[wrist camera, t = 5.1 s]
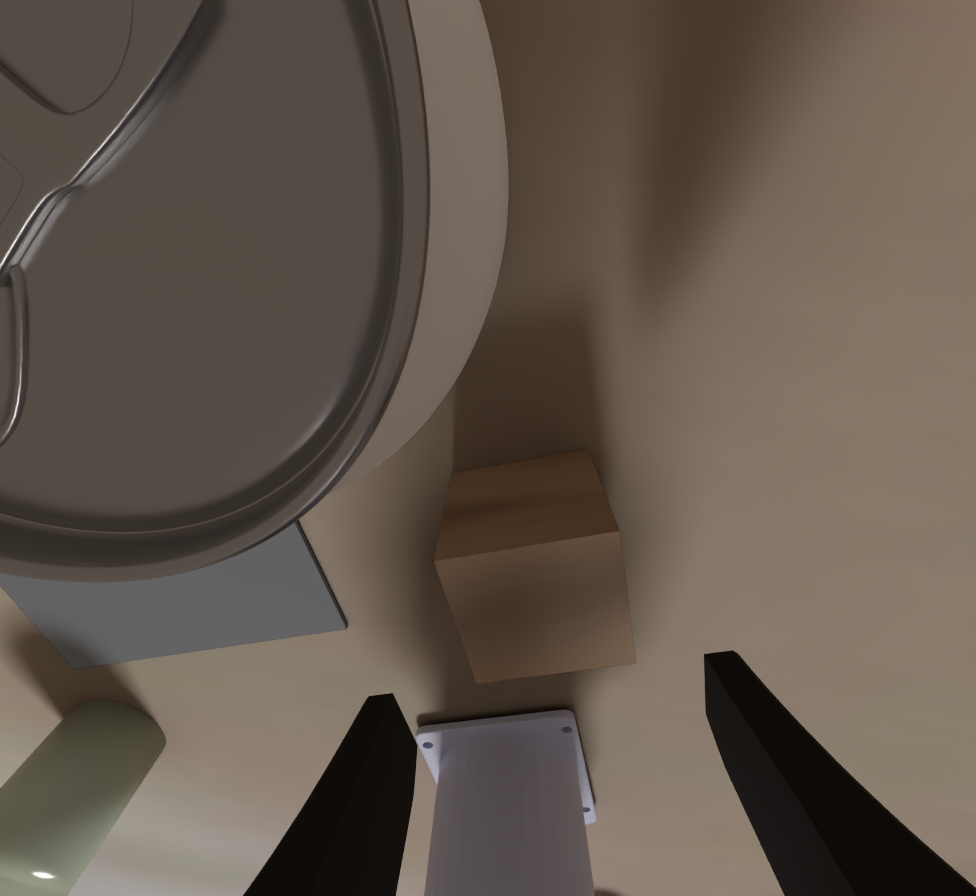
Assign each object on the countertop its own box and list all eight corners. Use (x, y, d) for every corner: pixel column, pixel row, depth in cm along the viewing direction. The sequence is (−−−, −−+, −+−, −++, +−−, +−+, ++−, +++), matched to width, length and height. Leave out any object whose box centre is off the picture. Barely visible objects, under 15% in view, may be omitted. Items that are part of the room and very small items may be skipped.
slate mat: (348, 625, 20) (346, 629, 20) (77, 665, 22) (73, 669, 22) (194, 308, 14) (190, 309, 14) (-159, 396, 16) (-166, 398, 16)
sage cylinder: (183, 754, 25) (93, 900, 19) (103, 763, 25) (-5, 907, 20) (133, 695, 23) (17, 839, 17) (48, 706, 23) (-89, 849, 18)
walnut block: (603, 556, 18) (636, 663, 14) (482, 575, 19) (476, 683, 14) (587, 447, 16) (619, 530, 12) (451, 472, 17) (433, 561, 12)
